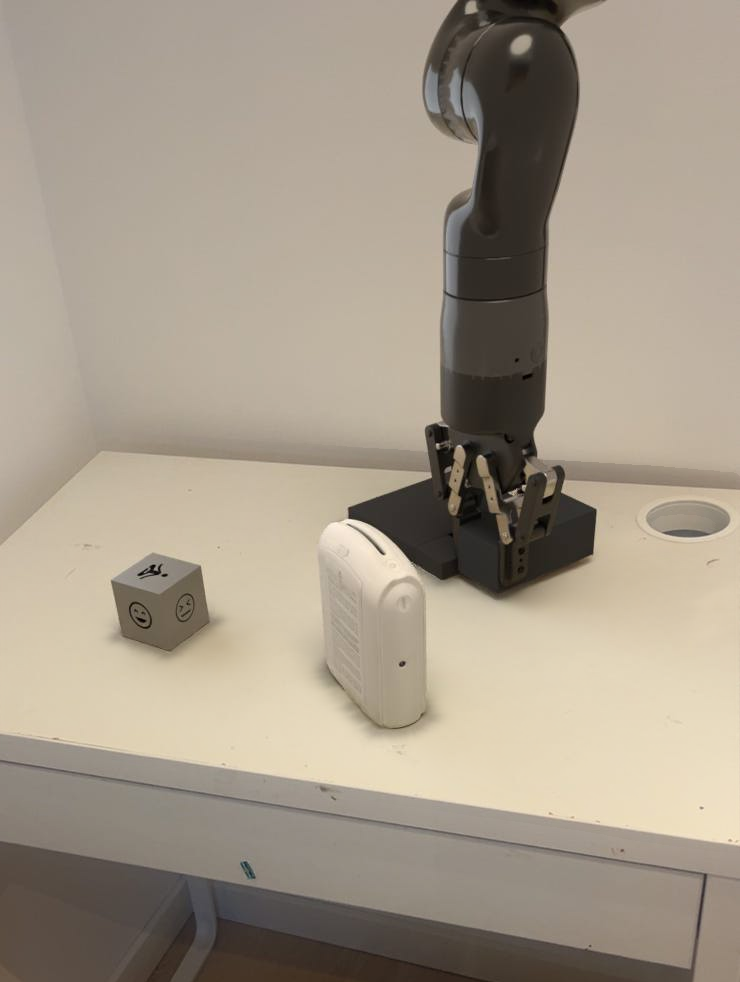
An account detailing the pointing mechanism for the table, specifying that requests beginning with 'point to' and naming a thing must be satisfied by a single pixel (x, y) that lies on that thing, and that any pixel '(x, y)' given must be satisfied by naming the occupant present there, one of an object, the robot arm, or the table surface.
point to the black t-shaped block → (545, 553)
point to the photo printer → (373, 622)
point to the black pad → (414, 525)
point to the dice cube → (160, 601)
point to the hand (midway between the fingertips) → (489, 567)
